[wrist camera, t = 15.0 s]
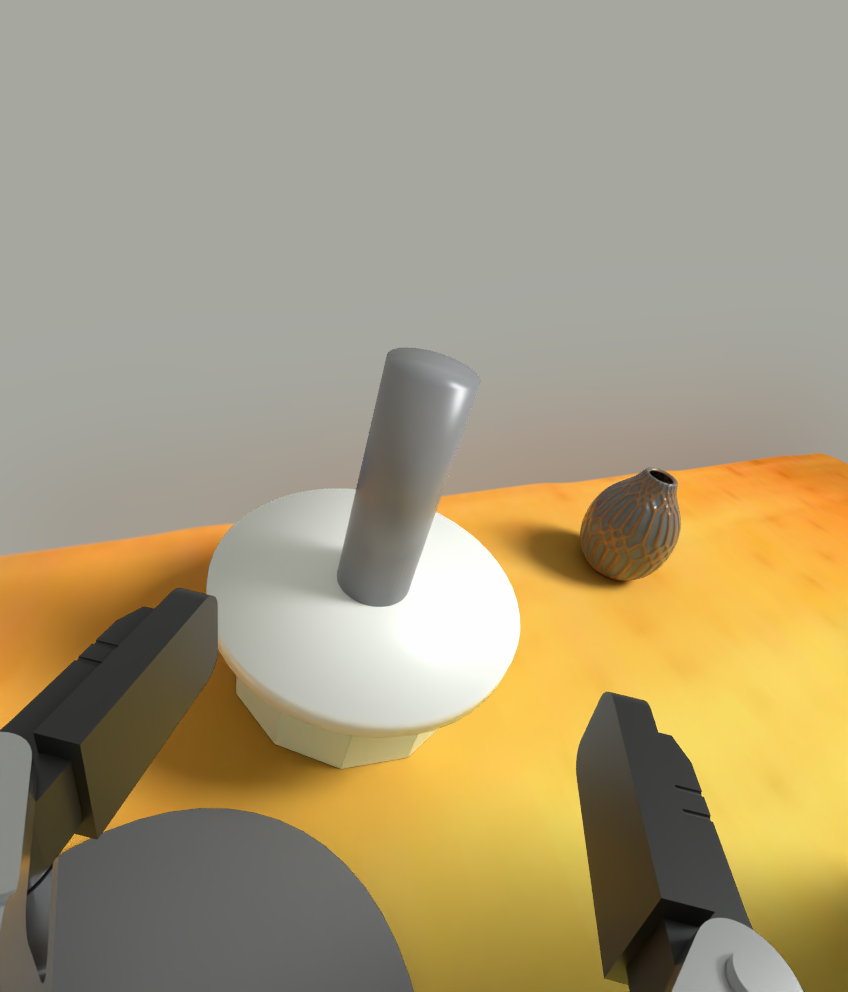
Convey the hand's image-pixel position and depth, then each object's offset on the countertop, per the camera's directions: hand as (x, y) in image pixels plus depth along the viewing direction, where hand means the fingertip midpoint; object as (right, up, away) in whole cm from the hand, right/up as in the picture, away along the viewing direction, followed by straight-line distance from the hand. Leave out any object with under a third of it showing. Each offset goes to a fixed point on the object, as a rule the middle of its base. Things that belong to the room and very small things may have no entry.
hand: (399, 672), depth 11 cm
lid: (-2, -1, +15) cm, 15 cm away
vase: (+16, -2, +32) cm, 36 cm away
